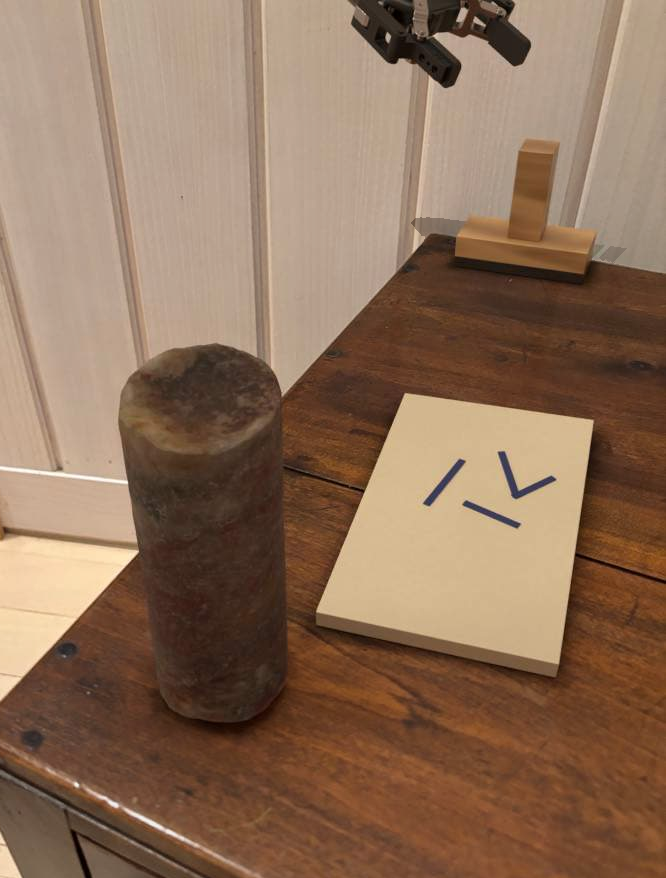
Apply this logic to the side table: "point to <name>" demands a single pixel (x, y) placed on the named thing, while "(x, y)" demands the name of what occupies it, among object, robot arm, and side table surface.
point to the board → (466, 534)
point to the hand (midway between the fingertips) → (490, 66)
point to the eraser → (528, 228)
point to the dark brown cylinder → (210, 526)
